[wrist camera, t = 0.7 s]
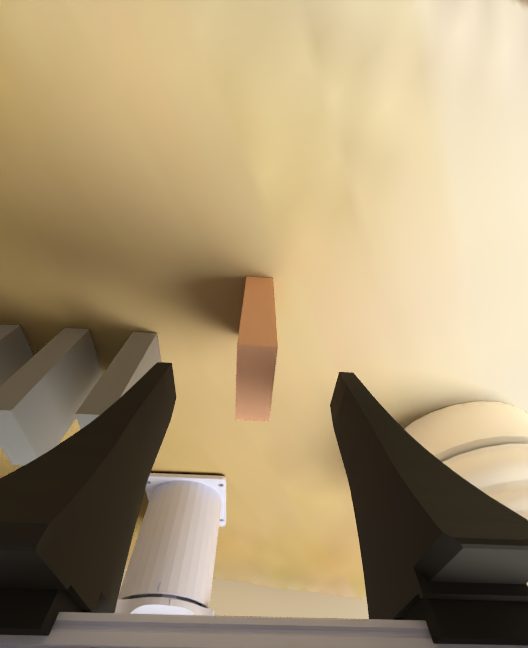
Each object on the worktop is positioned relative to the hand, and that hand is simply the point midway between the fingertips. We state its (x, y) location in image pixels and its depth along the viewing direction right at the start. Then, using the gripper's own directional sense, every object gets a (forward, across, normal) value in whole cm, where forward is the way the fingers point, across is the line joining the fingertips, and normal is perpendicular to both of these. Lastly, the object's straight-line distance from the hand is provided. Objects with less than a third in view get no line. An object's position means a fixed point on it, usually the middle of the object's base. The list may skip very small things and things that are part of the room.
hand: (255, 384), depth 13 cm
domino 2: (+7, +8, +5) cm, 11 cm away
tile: (+7, 0, 0) cm, 7 cm away
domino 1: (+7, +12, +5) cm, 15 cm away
